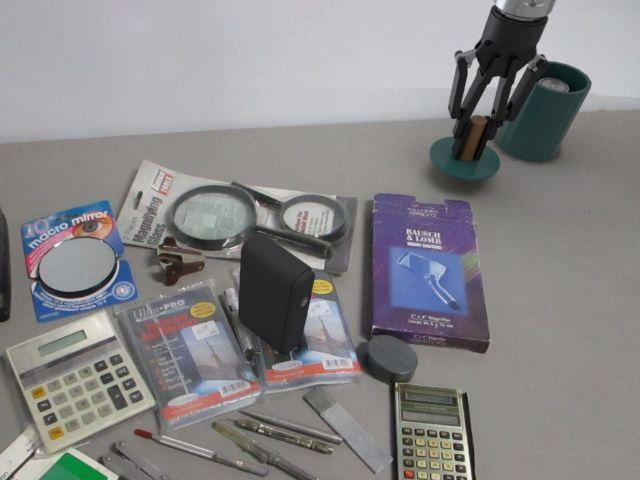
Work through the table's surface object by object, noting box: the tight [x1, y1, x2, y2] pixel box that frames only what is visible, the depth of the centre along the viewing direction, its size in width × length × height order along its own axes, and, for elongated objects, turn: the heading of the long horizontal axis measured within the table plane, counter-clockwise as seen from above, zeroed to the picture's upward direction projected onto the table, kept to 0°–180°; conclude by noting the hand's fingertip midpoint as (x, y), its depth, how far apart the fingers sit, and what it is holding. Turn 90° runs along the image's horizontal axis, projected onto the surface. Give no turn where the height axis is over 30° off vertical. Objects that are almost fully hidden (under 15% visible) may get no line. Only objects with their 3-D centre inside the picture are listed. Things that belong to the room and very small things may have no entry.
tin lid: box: [428, 114, 501, 182], centre depth 96 cm, size 11×11×8 cm
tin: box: [495, 60, 592, 163], centre depth 103 cm, size 10×10×14 cm
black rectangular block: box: [237, 233, 316, 356], centre depth 74 cm, size 9×4×15 cm, turn 45°
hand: (465, 154), depth 98 cm, fingers closed on tin lid, 3 cm apart
